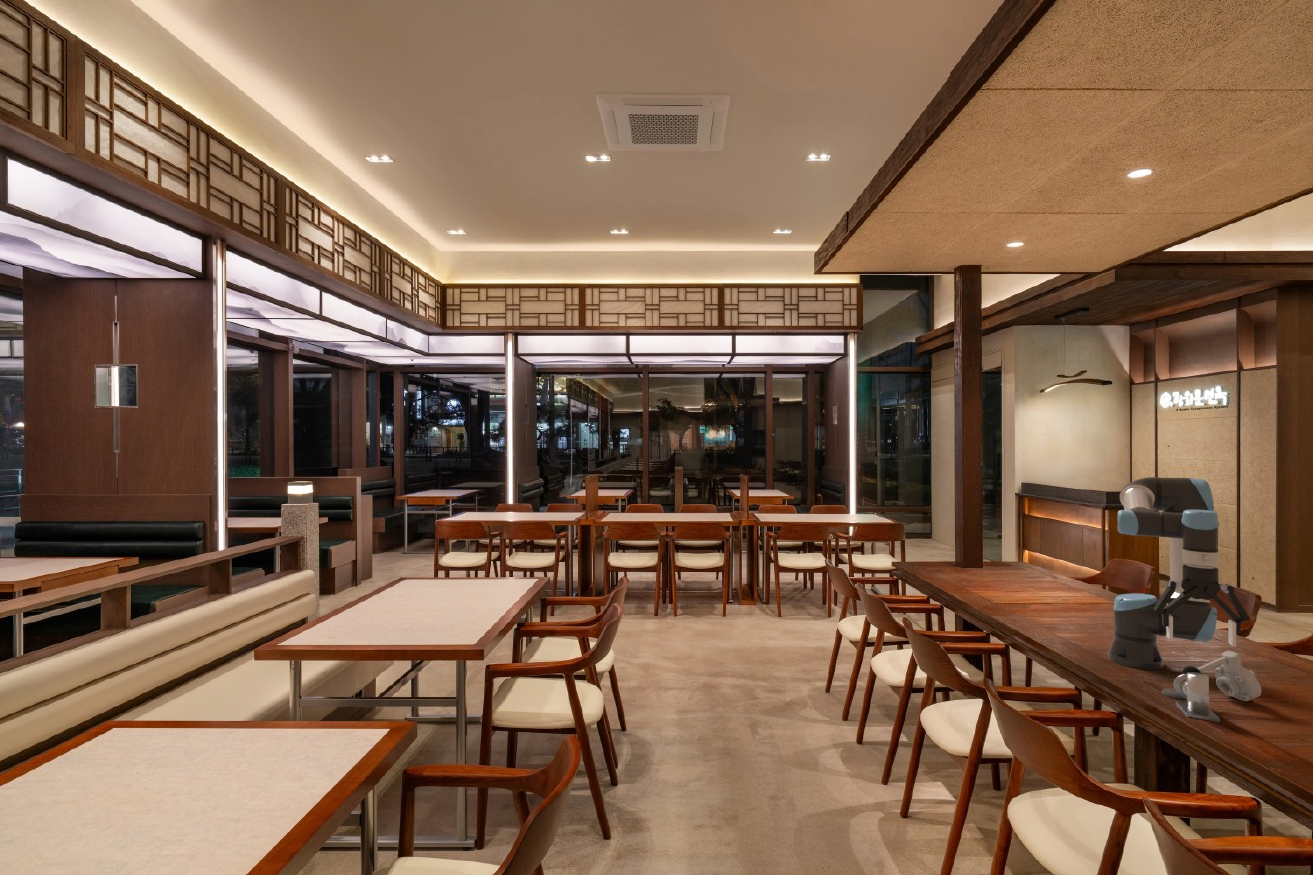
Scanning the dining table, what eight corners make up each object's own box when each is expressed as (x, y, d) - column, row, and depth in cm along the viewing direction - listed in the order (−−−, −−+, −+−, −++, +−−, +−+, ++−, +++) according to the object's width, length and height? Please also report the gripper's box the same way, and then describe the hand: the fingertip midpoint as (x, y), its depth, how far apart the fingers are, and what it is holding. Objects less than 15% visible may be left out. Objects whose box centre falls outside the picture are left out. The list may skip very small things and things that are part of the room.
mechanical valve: (1268, 701, 175) (1253, 653, 174) (1217, 725, 173) (1201, 676, 172) (1231, 687, 185) (1216, 641, 185) (1181, 709, 183) (1167, 663, 183)
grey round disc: (1158, 690, 187) (1158, 687, 187) (1183, 694, 184) (1183, 691, 184) (1164, 698, 181) (1164, 695, 181) (1190, 702, 179) (1190, 698, 179)
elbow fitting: (1172, 701, 178) (1172, 664, 178) (1203, 706, 175) (1203, 668, 175) (1187, 718, 168) (1187, 678, 168) (1220, 723, 165) (1219, 682, 165)
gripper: (1148, 564, 172) (1148, 639, 172) (1266, 572, 161) (1266, 652, 161) (1140, 559, 179) (1141, 631, 179) (1253, 566, 168) (1253, 643, 168)
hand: (1200, 641), depth 170 cm, fingers open, 13 cm apart
